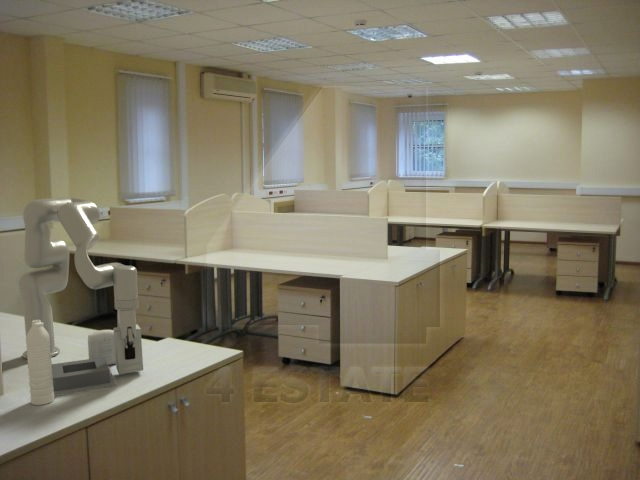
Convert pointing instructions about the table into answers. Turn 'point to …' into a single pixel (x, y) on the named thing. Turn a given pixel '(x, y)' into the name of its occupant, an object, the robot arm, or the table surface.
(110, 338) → the photo printer
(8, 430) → the table surface
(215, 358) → the table surface
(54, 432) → the table surface
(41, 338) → the water bottle
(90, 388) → the dock
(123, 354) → the skincare box
